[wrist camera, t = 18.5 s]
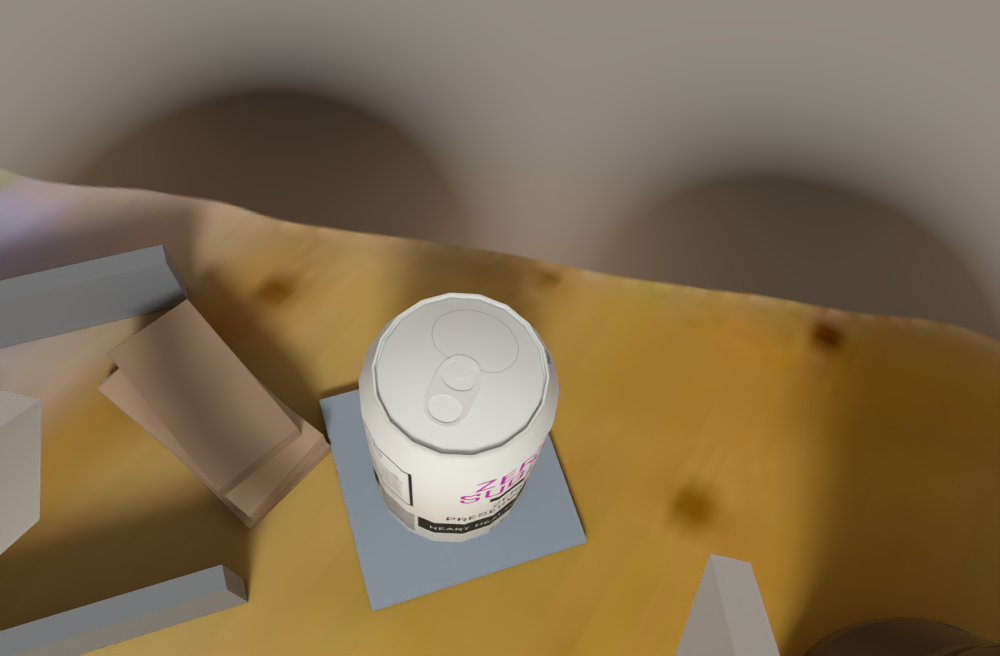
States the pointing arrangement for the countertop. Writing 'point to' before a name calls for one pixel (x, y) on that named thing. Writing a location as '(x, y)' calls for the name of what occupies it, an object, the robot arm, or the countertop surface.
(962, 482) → the countertop surface
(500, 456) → the supplement can
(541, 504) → the slate mat
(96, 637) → the grey three-walled tray
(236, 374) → the walnut offcut stack
